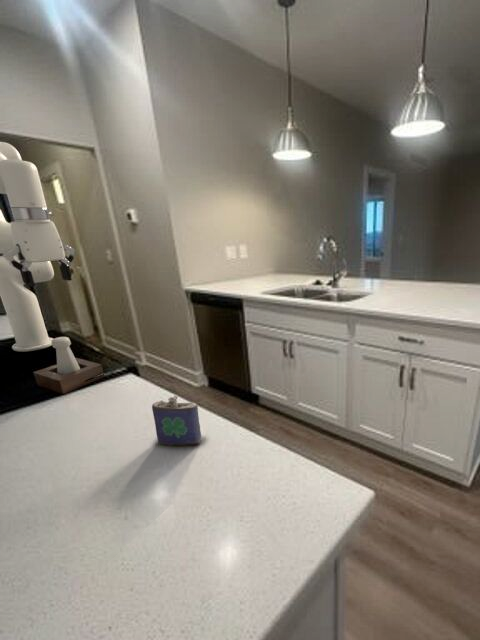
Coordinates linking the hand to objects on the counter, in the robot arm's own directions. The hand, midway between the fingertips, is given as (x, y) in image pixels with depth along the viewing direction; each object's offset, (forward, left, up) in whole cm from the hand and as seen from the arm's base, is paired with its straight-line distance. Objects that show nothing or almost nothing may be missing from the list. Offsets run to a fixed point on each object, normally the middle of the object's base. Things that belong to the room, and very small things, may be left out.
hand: (49, 282), depth 95 cm
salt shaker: (+6, -5, -27) cm, 28 cm away
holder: (+6, -5, -27) cm, 28 cm away
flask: (+55, -13, -27) cm, 63 cm away
